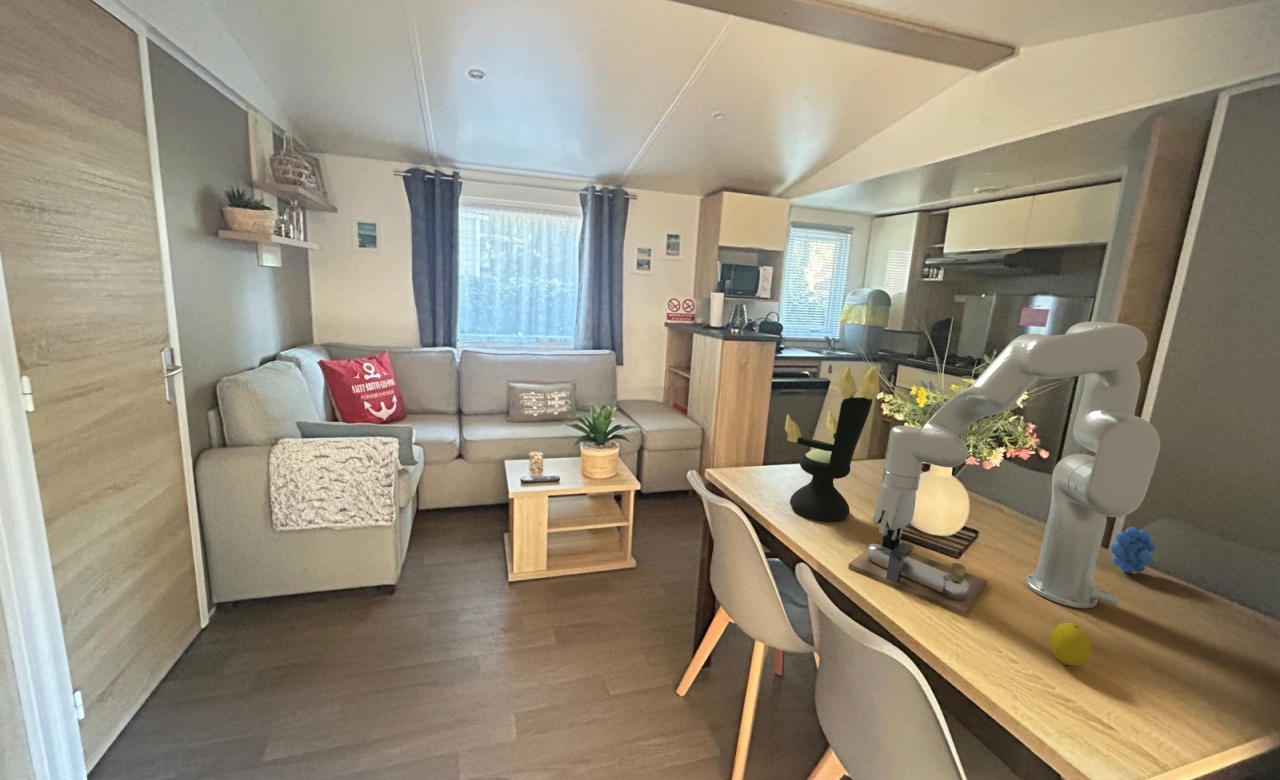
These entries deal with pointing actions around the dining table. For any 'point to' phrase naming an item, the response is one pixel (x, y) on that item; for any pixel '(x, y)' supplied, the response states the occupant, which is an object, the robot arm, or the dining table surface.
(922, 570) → the bolt
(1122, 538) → the grapes
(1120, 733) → the dining table surface
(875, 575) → the base board
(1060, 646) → the lemon
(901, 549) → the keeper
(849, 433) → the black toy throne
